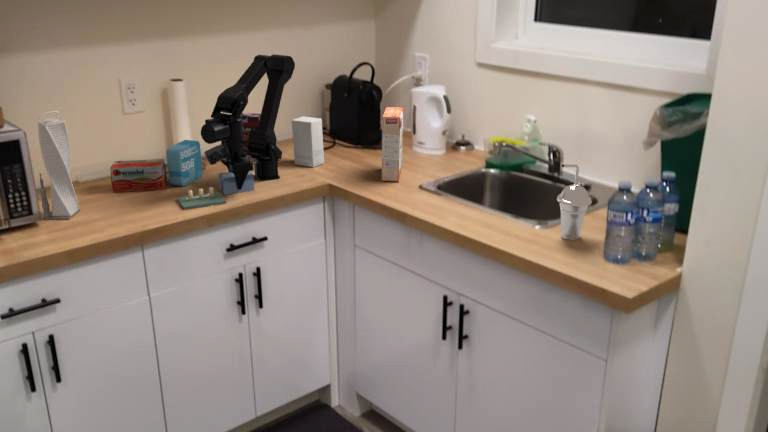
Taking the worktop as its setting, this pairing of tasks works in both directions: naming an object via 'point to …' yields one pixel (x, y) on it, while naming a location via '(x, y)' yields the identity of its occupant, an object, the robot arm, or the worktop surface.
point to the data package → (184, 162)
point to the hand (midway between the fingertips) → (236, 186)
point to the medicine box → (138, 175)
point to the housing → (230, 185)
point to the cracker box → (392, 143)
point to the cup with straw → (573, 208)
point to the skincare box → (308, 141)
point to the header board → (201, 199)
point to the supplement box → (247, 125)
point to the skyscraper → (57, 169)
